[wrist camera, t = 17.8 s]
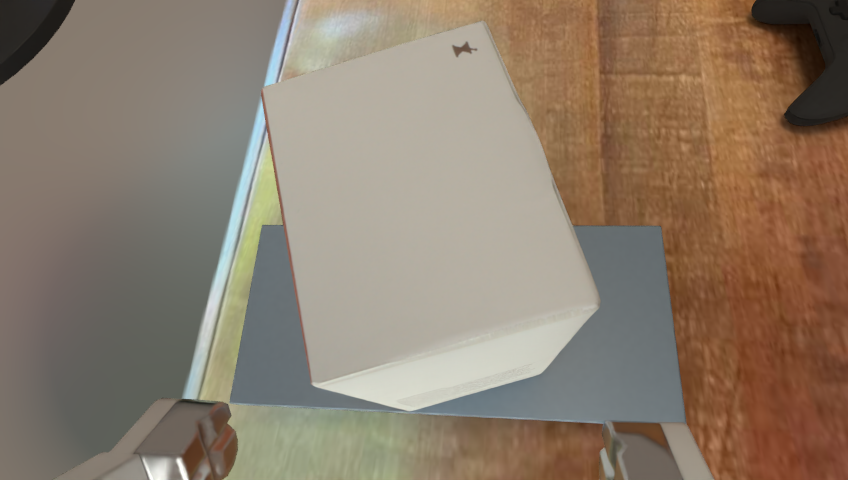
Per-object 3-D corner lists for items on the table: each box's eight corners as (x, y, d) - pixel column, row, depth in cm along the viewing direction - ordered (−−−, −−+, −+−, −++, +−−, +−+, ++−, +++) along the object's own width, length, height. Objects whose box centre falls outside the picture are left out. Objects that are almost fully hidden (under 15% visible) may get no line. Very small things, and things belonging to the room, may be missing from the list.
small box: (367, 251, 25) (254, 80, 13) (489, 215, 25) (489, 9, 13) (406, 417, 22) (305, 393, 10) (545, 377, 22) (614, 303, 10)
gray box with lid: (264, 408, 27) (228, 403, 23) (289, 250, 30) (261, 224, 26) (657, 428, 24) (687, 427, 20) (638, 253, 27) (661, 225, 24)
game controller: (742, -4, 32) (861, -75, 27) (774, 35, 35) (886, -23, 30) (783, 125, 28) (928, 67, 24) (815, 156, 31) (948, 110, 27)
